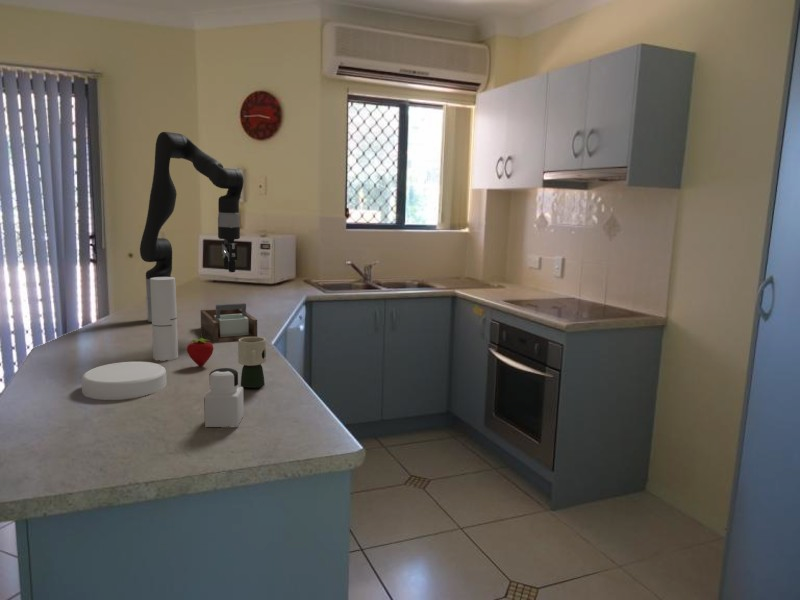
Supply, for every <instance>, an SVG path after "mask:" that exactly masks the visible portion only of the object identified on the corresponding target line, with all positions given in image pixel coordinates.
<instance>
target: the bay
mask: <svg viewBox="0 0 800 600" xmlns="http://www.w3.org/2000/svg"><path fill="white" fill-rule="evenodd" d="M228 314H242V309H234V310H220V315H228ZM214 315H216V308H214V309H213V308H211V309H200V328H201V330H202V331H203V332H204V331H205V332H204V333H205V334H206V335H207V336H208V337H209V338H210V339H211V341H213V343H214V342H217V343H223V342H224V341H228V342H237V341H236V340H239V339H241V338H245V337H258V319H257V318H255V317H254V316H252V315H251V314H250V313H248V312H247V311H246V317H247V318H248V325H249V335H240V336H228V337H220V336H219V335H218V323H217V322H216V321H215V320H214ZM224 343H225V342H224Z"/></svg>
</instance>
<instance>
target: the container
mask: <svg viewBox="0 0 800 600" xmlns="http://www.w3.org/2000/svg"><path fill="white" fill-rule="evenodd" d="M80 383H81V394H82V395H84V396H85V397H86V396H87V398H89V397H90V398H89V399H94V400H101V401H119V400H120V401H121V400H128V399H129V400H130V399H136V398H140V397H146V396H149V395H151V394H155V393H157V391H158V392H160V391H161V390H163V389H164V388H165V387H166V386H167V370H166V368H165V367H164V366H162V365H161V364H159V363H156V362H152V361H151V362H150V361H123V362H122V361H121V362H115V363H108V364H107V363H106V364H104V365H100V366H99V365H98V366H97V367H94V368H92V369H89V370H88V371H86V372H85V373H83V374H82V375H81V381H80ZM159 390H160V391H159ZM148 394H149V395H148ZM145 395H146V396H145Z"/></svg>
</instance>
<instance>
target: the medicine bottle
mask: <svg viewBox="0 0 800 600" xmlns="http://www.w3.org/2000/svg"><path fill="white" fill-rule="evenodd" d="M203 400H204V401H203V403H204V404H203V405H204V406H203V407H204V411H203V412H204V427H205V428H206V427H221V428H229V427H228V426H238V425H240V424H239V423H241V422H240V421H242V420H243V418H242V417H244V415H245V414H244V412H245V410H244V409H245V408H244V387H242V386H239V372H238V370H236V369H234V368H232V367H231V368H230V367H221V368H216V369H213V370H212V371H211V372H209V390H208V391H207V393H206V394H205V395H204V397H203ZM241 419H242V420H241ZM226 426H227V427H226ZM238 427H239V426H238Z"/></svg>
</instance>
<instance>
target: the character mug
mask: <svg viewBox="0 0 800 600" xmlns="http://www.w3.org/2000/svg"><path fill="white" fill-rule="evenodd" d="M237 348H238V349H237V351H238V352H237V353H238V357H237V358H238V361H237V362H238V364H239V365H242V367H241V368H242V369H241V376H240V387H243V388H251V389H255V388H262V387H264V386H265V385H266V384H265V376H264V368H263V366H262V364H265V363H266V362H267V340H266V338H265V337H262V336H257V337H245V338H241V339H239V340H238V342H237Z"/></svg>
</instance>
